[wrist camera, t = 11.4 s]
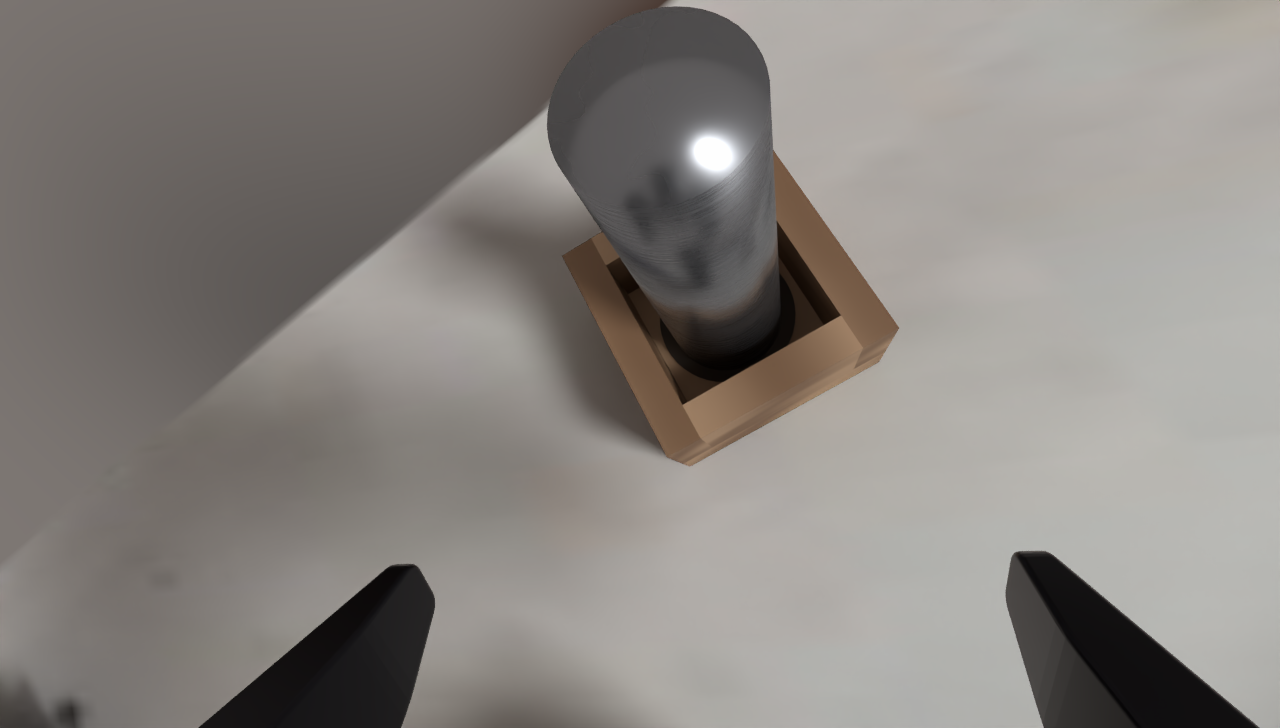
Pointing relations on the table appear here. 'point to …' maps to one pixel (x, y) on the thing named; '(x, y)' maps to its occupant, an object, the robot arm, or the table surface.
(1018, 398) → the table surface
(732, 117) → the pin
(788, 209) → the socket block
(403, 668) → the robot arm
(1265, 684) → the table surface
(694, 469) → the table surface
